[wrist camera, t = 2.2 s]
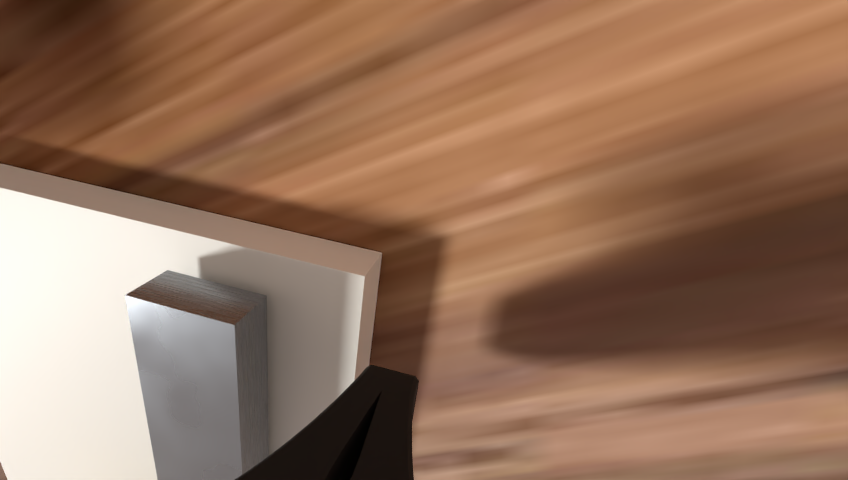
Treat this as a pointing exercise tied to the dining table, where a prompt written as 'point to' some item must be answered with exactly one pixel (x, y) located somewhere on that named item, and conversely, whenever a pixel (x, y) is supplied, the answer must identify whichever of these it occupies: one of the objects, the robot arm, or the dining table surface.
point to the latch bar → (201, 375)
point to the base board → (110, 328)
